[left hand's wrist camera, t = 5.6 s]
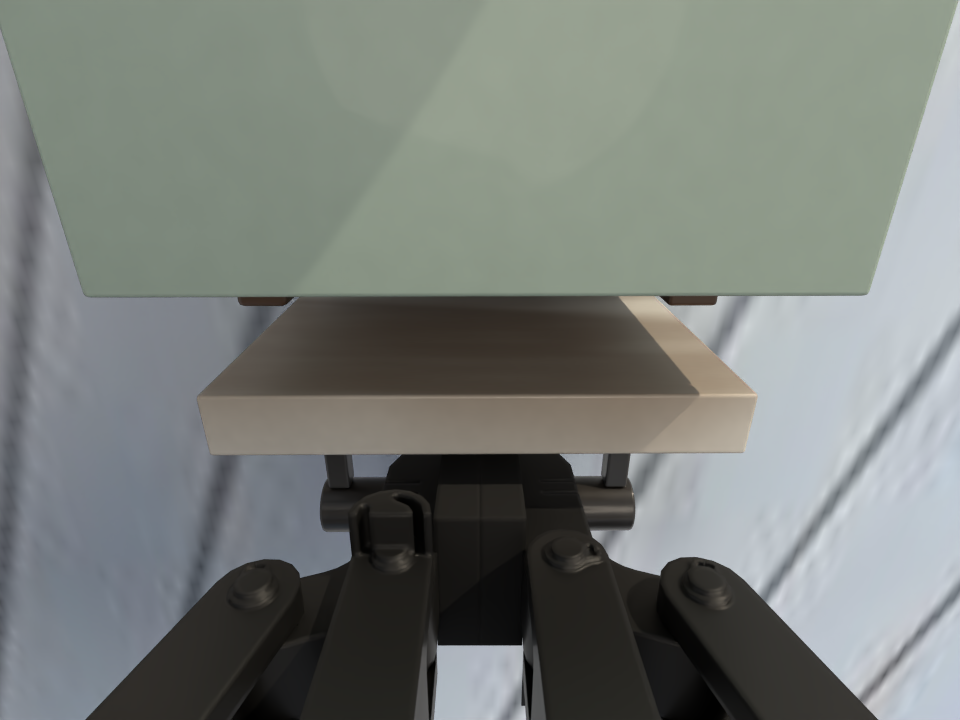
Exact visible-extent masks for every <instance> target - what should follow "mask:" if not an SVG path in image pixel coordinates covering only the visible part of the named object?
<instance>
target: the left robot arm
mask: <svg viewBox="0 0 960 720" xmlns="http://www.w3.org/2000/svg"><path fill="white" fill-rule="evenodd" d="M348 522H349V532H350V542H351V551H352V557H351V560H350V561H349V562H348V563H346V564H344V565H342V566H340V567H338V568H336V569H333V570H330V571H327V572H323V573H319V574H315V575H311V576H307V577H302V578H300V575H299V572H298V571H297V570H296V569H295V567H294V566H293V565H292V564H289V563H287V562H284V561H282V560H270V559H264V560H259V561H255V562H250V563H246V564H244V565H242V566H240V567H238V568H236V569H234V570H232V571H230V572H229V573H227V574H226V575H225V576H224V577H222V578H221V579H220V580H219V581H217V582H216V583H215V584H214V585H213V587H212V588H211V589H210V590H209V591H208V592H207V593H206V594H205V595H204V596H203V597H202V598H201V599H200V600H199V601H198V602H197V603H196V604H195V605H194V606H193V607H192V609H191V610H190V611H189V612H188V613H187V614H186V615H185V616H184V617H183V618H182V619H181V620H180V621H179V622H178V623H177V624H176V625H175V626H174V627H173V628H172V630H171V631H170V632H169V633H168V634H167V635H166V636H165V637H164V638H163V639H162V640H161V641H160V642H159V643H158V644H157V645H156V646H155V647H154V648H153V649H152V650H151V652H150V653H149V654H148V655H147V656H146V657H145V658H144V659H143V660H142V661H141V662H140V663H139V664H138V665H137V666H136V667H135V668H134V669H133V670H132V671H131V672H130V674H129V675H128V676H127V677H126V678H125V679H124V680H123V681H122V682H121V683H120V684H119V685H118V686H117V687H116V688H115V689H114V690H113V691H112V692H111V693H110V695H109V696H108V697H107V698H106V699H105V700H104V701H103V702H102V703H101V704H100V705H99V706H98V707H97V708H96V709H95V710H94V711H93V712H92V713H91V714H90V715H89V717H88V718H87V719H86V720H434V710H435V697H436V685H437V641H438V645H522V638H523V649H524V651H523V677H522V703H521V706H525V709H526V720H878V719H877V718H876V717H875V716H874V715H873V714H872V713H871V712H870V711H869V710H868V709H867V708H866V707H865V706H864V705H863V703H862V702H861V701H860V700H859V699H858V698H857V697H856V696H855V695H854V694H853V693H852V692H851V691H850V690H849V689H848V688H847V687H846V686H845V685H844V684H843V683H842V682H841V681H840V680H839V678H838V677H837V676H836V675H835V674H834V673H833V672H832V671H831V670H830V669H829V668H828V667H827V666H826V665H825V664H824V663H823V662H822V661H821V660H820V659H819V658H818V657H817V656H816V655H815V653H814V652H813V651H812V650H811V649H810V648H809V647H808V646H807V645H806V644H805V643H804V642H803V641H802V640H801V639H800V638H799V637H798V636H797V635H796V634H795V633H794V632H793V631H792V630H791V628H790V627H789V626H788V625H787V624H786V623H785V622H784V621H783V620H782V619H781V618H780V617H779V616H778V615H777V614H776V613H775V612H774V611H773V610H772V609H771V608H770V607H769V606H768V605H767V603H766V602H765V601H764V600H763V599H762V598H761V597H760V596H759V595H758V594H757V593H756V592H755V591H754V590H753V589H752V588H751V587H750V586H749V585H748V584H747V583H746V582H745V581H744V580H743V579H742V578H741V577H740V576H738V575H737V574H736V573H735V572H733V571H732V570H731V569H729V568H727V567H725V566H723V565H721V564H719V563H716V562H714V561H711V560H707V559H702V558H698V557H684V558H678V559H676V560H673V561H670V562H668V563H667V564H666V566H665V567H664V568H663V569H662V570H661V575H660V576H658V575H654V574H650V573H646V572H641V571H637V570H634V569H631V568H628V567H624V566H622V565H620V564H618V563H616V562H614V561H612V560H611V559H609V557H608V554H607V553H606V551H605V549H604V548H603V546H602V545H601V544H600V543H599V542H597V541H596V540H595V539H593V538H592V535H591V532H590V528H589V525H588V522H587V518H586V515H585V512H584V508H583V505H582V502H581V498H580V495H579V494H578V488H577V485H576V482H575V478H574V475H573V472H572V468H571V465H570V464H569V463H568V462H567V461H566V460H565V459H564V458H563V457H562V456H561V455H560V454H402V455H401V456H400V457H399V458H398V459H397V460H396V461H395V462H394V463H393V464H392V465H391V466H390V467H389V470H388V474H387V477H386V480H385V484H384V487H383V490H382V491H379V492H376V493H373V494H370V495H368V496H365V497H364V498H362V499H361V500H359V501H358V502H356V503H355V504H354V505H353V507H352V508H351V509H350V511H349V512H348Z"/></svg>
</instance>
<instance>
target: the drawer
mask: <svg viewBox="0 0 960 720" xmlns="http://www.w3.org/2000/svg"><path fill="white" fill-rule="evenodd" d="M660 297H661V298H662V299H663V300H664V301H665V302H666V303H668V304H669V305H715V304H716V302H717V296H660ZM293 298H294V297H238V302H239V303H240V305H243V306H283V305H286V304H287V303H288V302H289V301H291V300H292V299H293ZM197 402H198V406H199V410H200V414H201V418H202V422H203V426H204V431H205V435H206V439H207V443H208V447H209V451H210V454H211V455H324V456H325V463H326V470H327V477H328V479H327V480H326V482H325V484H324V487H323V490H322V494H321V501H320V520H321V525H322V528H323V530H324V531H326V532H349V522H348V512H349V511H350V509H351V508H352V507H353V505H354V504H355V503H356V502H358V501H359V500H361V499H362V498H364V497H365V496H368V495H370V494H373V493H376V492H379V491H382V490H383V487H384V484H385V480H386V477H354V471H353V463H352V455H379V454H603V462H602V471H601V475H602V476H574V478H575V482H576V485H577V488H578V494H579V495H580V498H581V502H582V505H583V508H584V512H585V515H586V518H587V522H588V525H589V528H590V531H592V530H630V529H632V527H633V524H634V520H635V499H634V492H633V488H632V485H631V482H630V480H629V479H628V478H627V476H628V468H629V461H630V454H631V453H743V452H744V451H745V448H746V443H747V439H748V435H749V431H750V427H751V423H752V418H753V414H754V410H755V406H756V402H757V394H756V393H755V392H754V391H753V390H752V389H751V388H750V387H749V386H748V385H747V384H746V383H745V382H744V381H743V380H742V379H741V378H740V377H738V376H737V375H736V374H735V373H734V372H733V371H732V370H731V369H730V368H729V367H728V366H727V365H726V364H725V363H724V362H723V361H722V360H721V359H720V358H718V357H717V356H716V355H715V354H714V353H713V352H712V351H711V350H710V349H709V348H708V347H707V346H706V345H705V344H704V343H703V342H702V341H701V340H700V339H699V338H697V337H696V336H695V335H694V334H693V333H692V332H691V331H690V330H689V329H688V328H687V327H686V326H685V325H684V324H683V323H682V322H681V321H680V320H679V319H677V318H676V317H675V316H674V315H673V314H672V313H671V312H670V311H669V310H668V309H667V308H666V307H665V306H664V305H663V304H662V303H661V302H660V301H659V300H657V299H656V298H655V297H654V296H466V297H299V298H298V299H297V300H296V301H295V302H294V303H293V304H292V305H291V306H290V307H289V308H288V309H287V310H286V311H285V312H284V313H283V314H282V315H281V316H280V317H279V318H278V319H276V320H275V321H274V322H273V323H272V324H271V325H270V326H269V327H268V328H267V329H266V330H265V331H264V332H263V333H262V334H261V335H260V336H259V337H258V338H257V339H256V340H255V341H254V342H253V343H252V344H251V345H250V346H249V347H248V348H247V349H246V350H244V351H243V352H242V353H241V354H240V355H239V356H238V357H237V358H236V359H235V360H234V361H233V362H232V363H231V364H230V365H229V366H228V367H227V368H226V369H225V370H224V371H223V372H222V373H221V374H220V375H219V376H218V377H217V378H216V379H215V380H214V381H212V382H211V383H210V384H209V385H208V386H207V387H206V388H205V389H204V390H203V391H202V392H201V393H200V394H199V395H198V396H197Z"/></svg>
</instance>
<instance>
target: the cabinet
mask: <svg viewBox="0 0 960 720" xmlns="http://www.w3.org/2000/svg"><path fill="white" fill-rule="evenodd" d="M957 3H958V0H0V29H1V32H2V35H3V38H4V41H5V44H6V48H7V51H8V54H9V57H10V60H11V64H12V67H13V70H14V73H15V76H16V80H17V83H18V86H19V89H20V92H21V96H22V99H23V102H24V105H25V108H26V112H27V115H28V118H29V121H30V124H31V127H32V131H33V134H34V137H35V140H36V143H37V147H38V150H39V153H40V156H41V159H42V163H43V166H44V169H45V172H46V175H47V179H48V182H49V185H50V188H51V191H52V195H53V198H54V201H55V204H56V207H57V210H58V214H59V217H60V220H61V223H62V226H63V230H64V233H65V236H66V239H67V242H68V246H69V249H70V252H71V255H72V258H73V262H74V265H75V268H76V271H77V274H78V278H79V281H80V284H81V287H82V290H83V293H84V295H85V296H87V297H466V296H862V295H866V294H868V292H869V290H870V287H871V284H872V281H873V277H874V274H875V271H876V268H877V264H878V261H879V258H880V255H881V251H882V248H883V245H884V241H885V238H886V235H887V232H888V228H889V225H890V222H891V219H892V215H893V212H894V209H895V206H896V202H897V199H898V196H899V193H900V189H901V186H902V183H903V180H904V176H905V173H906V170H907V167H908V163H909V160H910V157H911V153H912V150H913V147H914V144H915V140H916V137H917V134H918V131H919V127H920V124H921V121H922V118H923V114H924V111H925V108H926V105H927V101H928V98H929V95H930V92H931V88H932V85H933V82H934V78H935V75H936V72H937V69H938V65H939V62H940V59H941V56H942V52H943V49H944V46H945V43H946V39H947V36H948V33H949V30H950V26H951V23H952V20H953V17H954V13H955V10H956V7H957Z"/></svg>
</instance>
